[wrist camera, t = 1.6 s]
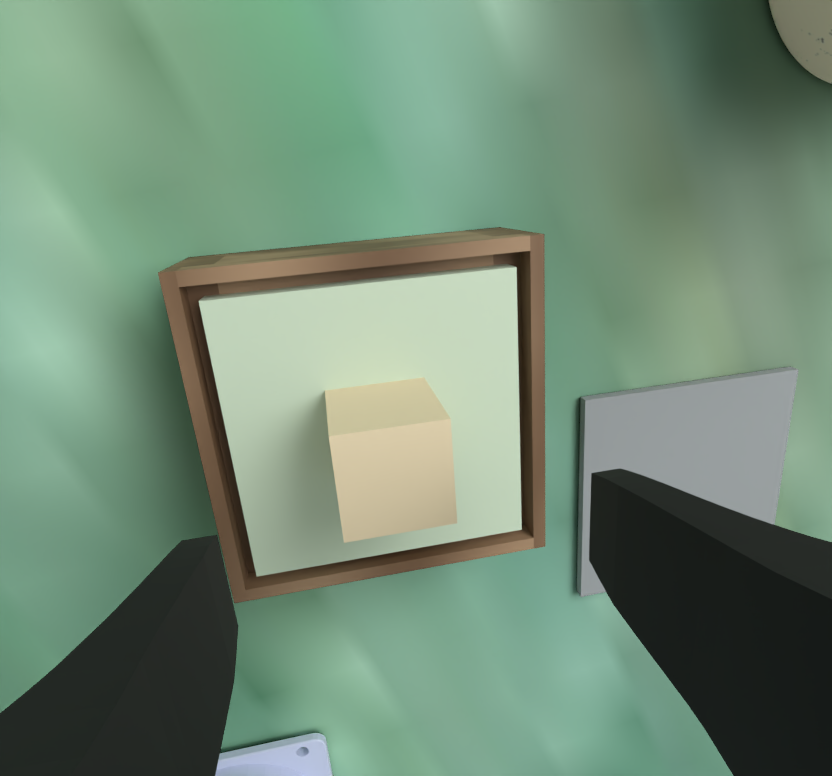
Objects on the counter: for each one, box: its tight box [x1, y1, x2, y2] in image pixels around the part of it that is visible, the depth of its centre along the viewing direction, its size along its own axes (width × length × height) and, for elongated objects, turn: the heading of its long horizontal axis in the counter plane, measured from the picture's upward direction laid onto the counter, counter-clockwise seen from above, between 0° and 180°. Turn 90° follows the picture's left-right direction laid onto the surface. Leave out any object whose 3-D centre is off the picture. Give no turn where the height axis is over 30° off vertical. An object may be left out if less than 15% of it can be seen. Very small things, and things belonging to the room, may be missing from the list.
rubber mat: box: [577, 367, 798, 597], centre depth 23 cm, size 9×9×1 cm
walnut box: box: [158, 227, 545, 603], centre depth 18 cm, size 10×10×4 cm
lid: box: [199, 264, 522, 577], centre depth 15 cm, size 8×8×4 cm
